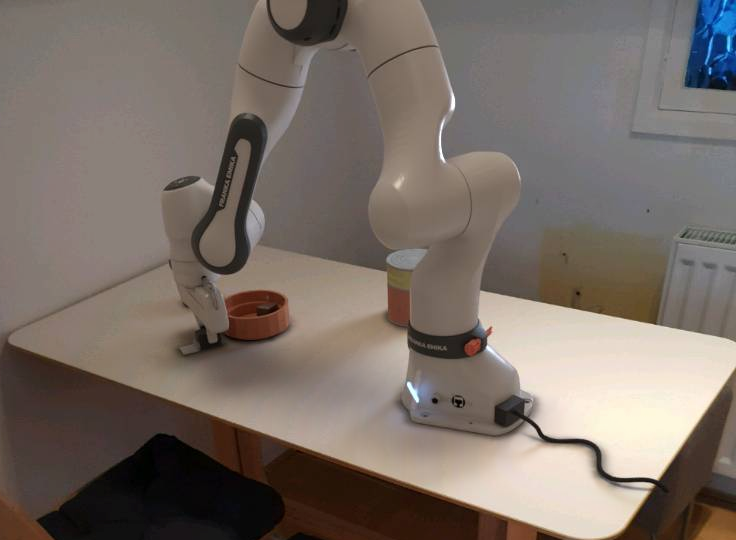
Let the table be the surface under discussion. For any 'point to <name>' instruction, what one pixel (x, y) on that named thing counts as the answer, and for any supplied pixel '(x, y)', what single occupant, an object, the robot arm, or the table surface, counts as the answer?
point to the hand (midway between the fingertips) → (208, 336)
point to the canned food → (401, 283)
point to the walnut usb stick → (266, 309)
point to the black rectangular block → (200, 342)
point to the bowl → (255, 314)
